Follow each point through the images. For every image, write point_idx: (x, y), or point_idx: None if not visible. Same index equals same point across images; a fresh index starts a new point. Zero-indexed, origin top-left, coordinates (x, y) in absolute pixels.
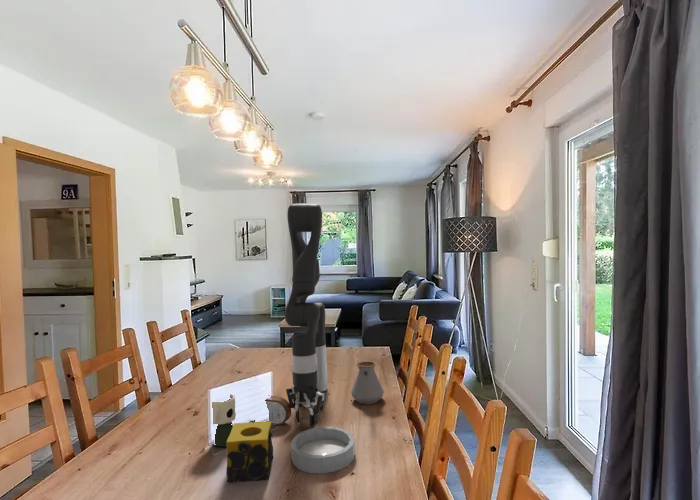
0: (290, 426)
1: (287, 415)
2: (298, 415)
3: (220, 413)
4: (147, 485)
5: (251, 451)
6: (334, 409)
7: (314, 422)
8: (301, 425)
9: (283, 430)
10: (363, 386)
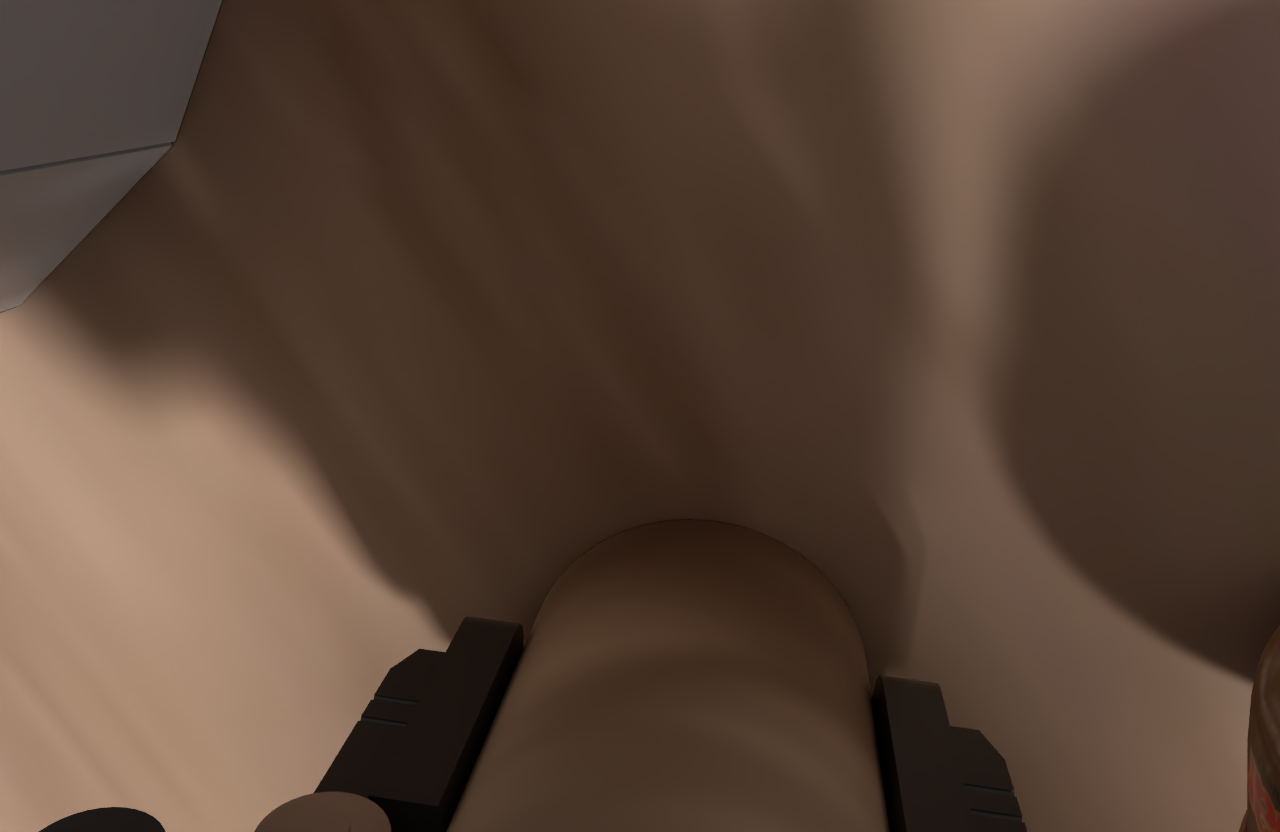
0: (1096, 596)
1: (1275, 739)
2: (900, 804)
3: None
4: None
5: None
6: None
7: (388, 693)
8: (730, 576)
9: (1169, 370)
10: None
